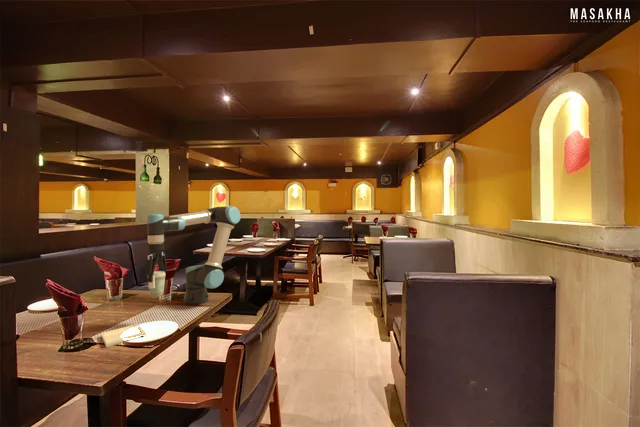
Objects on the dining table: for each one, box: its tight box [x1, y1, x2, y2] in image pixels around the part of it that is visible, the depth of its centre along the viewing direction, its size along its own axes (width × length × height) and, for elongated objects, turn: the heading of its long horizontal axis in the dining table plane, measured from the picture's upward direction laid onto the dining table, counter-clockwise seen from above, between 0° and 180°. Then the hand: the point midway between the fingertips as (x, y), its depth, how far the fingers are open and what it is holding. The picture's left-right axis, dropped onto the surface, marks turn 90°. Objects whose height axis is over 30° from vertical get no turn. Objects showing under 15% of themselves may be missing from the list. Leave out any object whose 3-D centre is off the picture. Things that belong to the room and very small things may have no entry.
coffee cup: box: [149, 270, 167, 298], centre depth 151 cm, size 8×8×12 cm
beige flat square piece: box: [100, 323, 146, 348], centre depth 135 cm, size 15×15×2 cm
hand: (156, 285), depth 151 cm, fingers closed on coffee cup, 8 cm apart
